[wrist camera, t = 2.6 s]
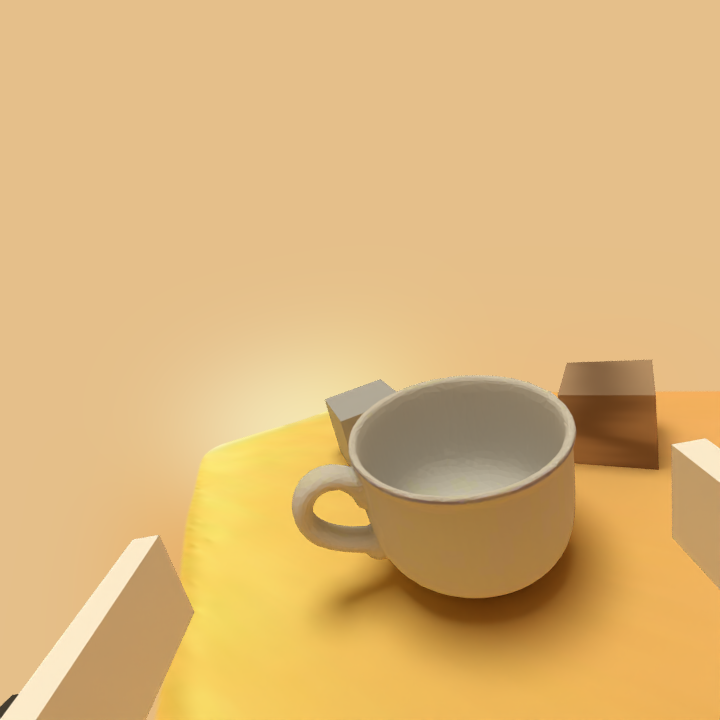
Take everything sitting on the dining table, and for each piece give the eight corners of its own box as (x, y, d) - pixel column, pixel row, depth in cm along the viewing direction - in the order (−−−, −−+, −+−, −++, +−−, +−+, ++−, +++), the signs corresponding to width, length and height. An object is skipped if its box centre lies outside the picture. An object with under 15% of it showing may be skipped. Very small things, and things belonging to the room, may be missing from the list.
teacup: (533, 469, 29) (516, 357, 26) (641, 608, 19) (631, 446, 16) (328, 519, 29) (293, 414, 27) (323, 683, 19) (265, 536, 16)
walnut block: (654, 427, 30) (651, 359, 28) (658, 470, 26) (655, 395, 24) (573, 424, 33) (567, 362, 31) (565, 463, 29) (558, 395, 27)
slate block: (393, 430, 39) (380, 379, 37) (417, 455, 34) (403, 397, 32) (340, 451, 37) (324, 399, 36) (358, 479, 33) (340, 421, 31)
